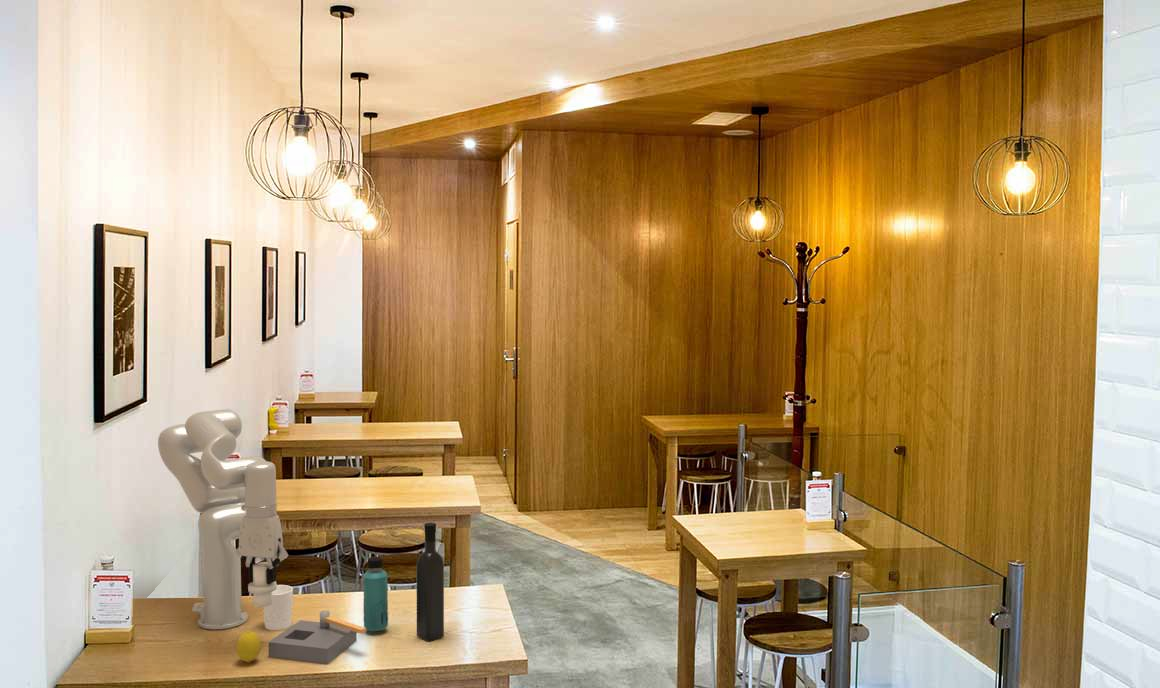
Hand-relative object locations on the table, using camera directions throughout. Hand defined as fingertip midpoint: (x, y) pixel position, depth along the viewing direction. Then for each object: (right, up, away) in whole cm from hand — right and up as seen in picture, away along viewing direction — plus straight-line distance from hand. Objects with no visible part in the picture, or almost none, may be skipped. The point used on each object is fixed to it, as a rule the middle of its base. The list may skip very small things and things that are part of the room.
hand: (262, 581), depth 238 cm
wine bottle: (+41, -17, +8) cm, 45 cm away
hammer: (+20, -13, -1) cm, 24 cm away
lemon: (0, -18, -10) cm, 20 cm away
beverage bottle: (+27, -16, +10) cm, 33 cm away
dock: (+13, -17, -1) cm, 22 cm away
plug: (0, -6, 0) cm, 6 cm away
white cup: (0, -16, +14) cm, 21 cm away
